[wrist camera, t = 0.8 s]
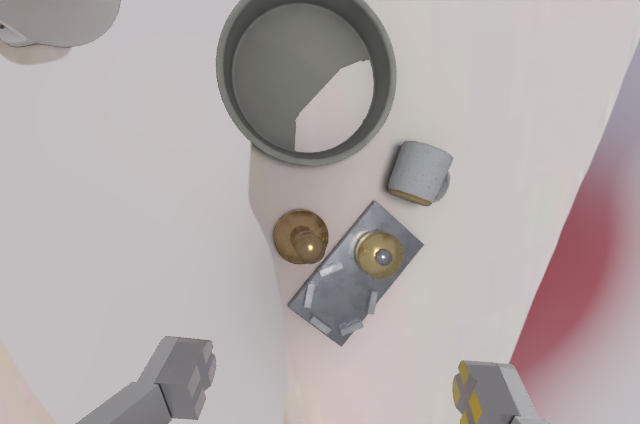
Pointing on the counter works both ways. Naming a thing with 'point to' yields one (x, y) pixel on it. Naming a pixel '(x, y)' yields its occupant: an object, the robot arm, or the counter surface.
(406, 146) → the ceramic mug
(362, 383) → the counter surface
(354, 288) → the carrier plate
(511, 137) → the counter surface
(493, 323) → the counter surface
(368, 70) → the counter surface
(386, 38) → the cake pan
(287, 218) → the brass joystick knob
